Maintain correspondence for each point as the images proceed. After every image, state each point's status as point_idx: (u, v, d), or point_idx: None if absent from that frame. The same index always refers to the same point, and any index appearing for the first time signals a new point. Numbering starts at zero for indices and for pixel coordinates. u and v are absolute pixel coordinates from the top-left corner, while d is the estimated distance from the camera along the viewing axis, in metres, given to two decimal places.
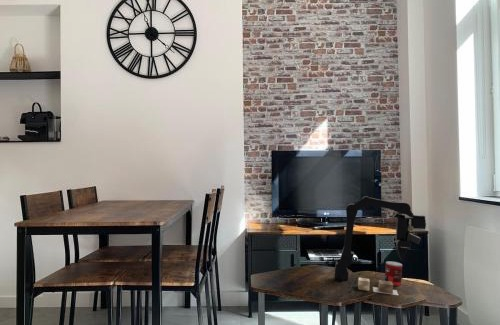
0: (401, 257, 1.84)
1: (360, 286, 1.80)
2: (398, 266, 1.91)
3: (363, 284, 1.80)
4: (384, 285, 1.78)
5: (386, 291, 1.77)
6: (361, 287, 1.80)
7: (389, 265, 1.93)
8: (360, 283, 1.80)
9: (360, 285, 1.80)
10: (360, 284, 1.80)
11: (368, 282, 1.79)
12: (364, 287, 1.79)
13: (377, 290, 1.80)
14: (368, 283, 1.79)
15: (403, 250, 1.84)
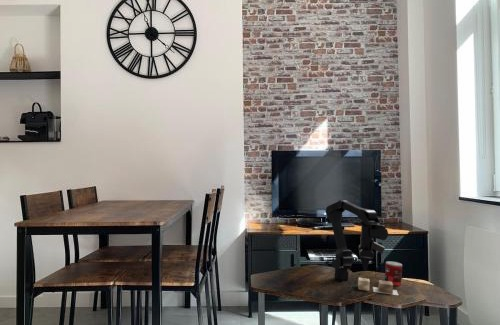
0: (364, 267, 1.77)
1: (360, 286, 1.80)
2: (398, 266, 1.91)
3: (363, 284, 1.80)
4: (384, 285, 1.78)
5: (386, 291, 1.77)
6: (361, 287, 1.80)
7: (389, 265, 1.93)
8: (360, 283, 1.80)
9: (360, 285, 1.80)
10: (360, 284, 1.80)
11: (368, 282, 1.79)
12: (364, 287, 1.79)
13: (377, 290, 1.80)
14: (368, 283, 1.79)
15: (366, 260, 1.77)
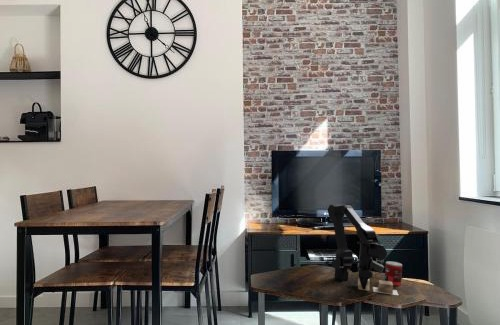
0: (363, 286, 1.79)
1: (360, 286, 1.80)
2: (398, 266, 1.91)
3: None
4: (384, 285, 1.78)
5: (386, 291, 1.77)
6: (361, 287, 1.80)
7: (389, 265, 1.93)
8: (360, 283, 1.80)
9: (360, 285, 1.80)
10: (360, 284, 1.80)
11: (368, 282, 1.79)
12: None
13: (377, 290, 1.80)
14: (368, 283, 1.79)
15: (365, 278, 1.78)
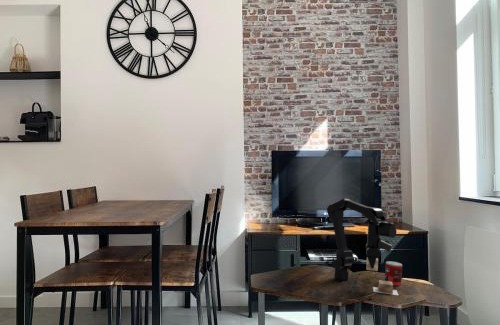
0: (371, 265, 1.78)
1: (368, 265, 1.79)
2: (398, 266, 1.91)
3: None
4: (384, 285, 1.78)
5: (386, 291, 1.77)
6: (369, 266, 1.79)
7: (389, 265, 1.93)
8: (368, 262, 1.79)
9: (368, 264, 1.79)
10: (368, 263, 1.79)
11: (376, 261, 1.79)
12: None
13: (377, 290, 1.80)
14: (376, 262, 1.78)
15: (373, 257, 1.78)
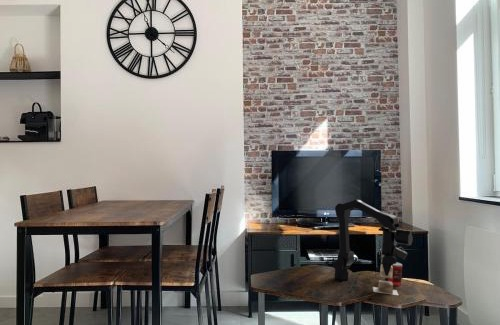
0: (386, 272, 1.77)
1: (383, 272, 1.79)
2: (398, 266, 1.91)
3: None
4: (384, 285, 1.78)
5: (386, 291, 1.77)
6: (384, 273, 1.78)
7: None
8: (383, 269, 1.79)
9: (383, 271, 1.79)
10: (383, 270, 1.79)
11: (391, 268, 1.78)
12: None
13: (377, 290, 1.80)
14: (391, 269, 1.78)
15: (388, 265, 1.77)
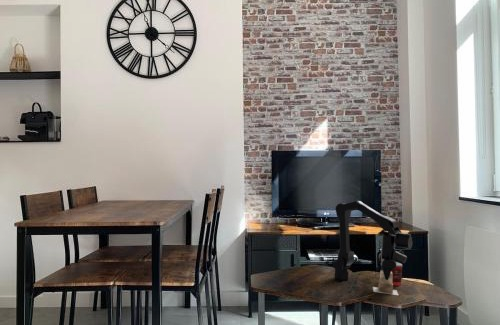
0: (386, 276, 1.76)
1: (383, 279, 1.78)
2: (398, 266, 1.91)
3: None
4: (384, 285, 1.78)
5: (386, 291, 1.77)
6: (384, 279, 1.78)
7: None
8: (383, 275, 1.79)
9: (383, 277, 1.78)
10: (383, 276, 1.78)
11: (391, 274, 1.78)
12: None
13: (377, 290, 1.80)
14: (391, 276, 1.78)
15: (388, 269, 1.76)
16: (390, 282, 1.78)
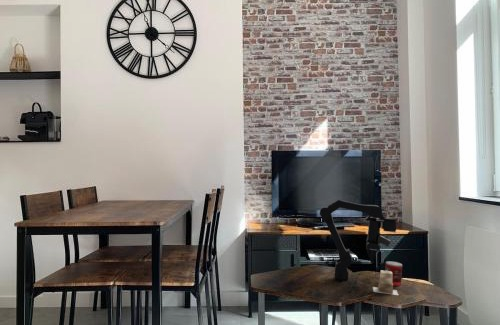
0: (371, 259, 1.88)
1: (383, 279, 1.78)
2: (398, 266, 1.91)
3: (385, 276, 1.78)
4: (384, 285, 1.78)
5: (386, 291, 1.77)
6: (384, 279, 1.78)
7: (389, 265, 1.93)
8: (383, 275, 1.79)
9: (383, 277, 1.78)
10: (383, 276, 1.78)
11: (391, 274, 1.78)
12: (387, 279, 1.78)
13: (377, 290, 1.80)
14: (391, 276, 1.78)
15: (373, 252, 1.88)
16: (390, 282, 1.78)
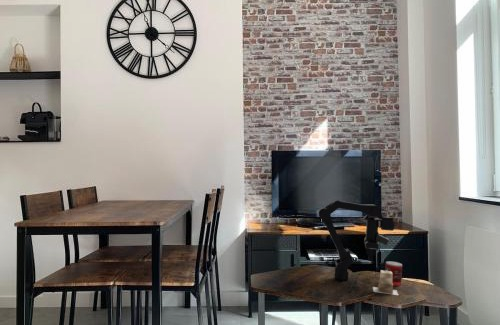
0: (370, 258, 1.90)
1: (383, 279, 1.78)
2: (398, 266, 1.91)
3: (385, 276, 1.78)
4: (384, 285, 1.78)
5: (386, 291, 1.77)
6: (384, 279, 1.78)
7: (389, 265, 1.93)
8: (383, 275, 1.79)
9: (383, 277, 1.78)
10: (383, 276, 1.78)
11: (391, 274, 1.78)
12: (387, 279, 1.78)
13: (377, 290, 1.80)
14: (391, 276, 1.78)
15: (372, 251, 1.89)
16: (390, 282, 1.78)
